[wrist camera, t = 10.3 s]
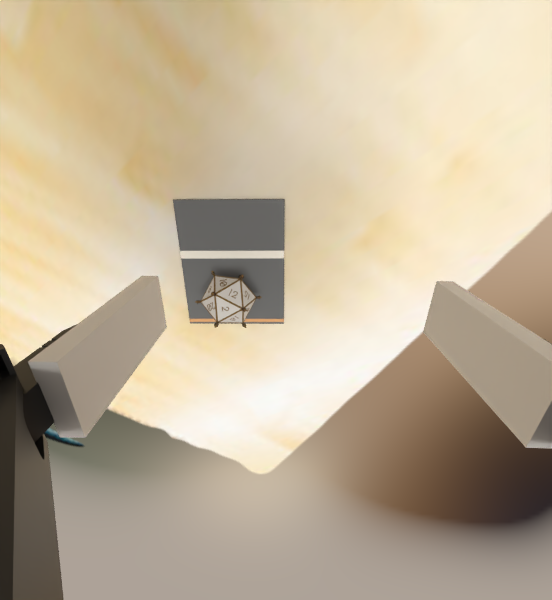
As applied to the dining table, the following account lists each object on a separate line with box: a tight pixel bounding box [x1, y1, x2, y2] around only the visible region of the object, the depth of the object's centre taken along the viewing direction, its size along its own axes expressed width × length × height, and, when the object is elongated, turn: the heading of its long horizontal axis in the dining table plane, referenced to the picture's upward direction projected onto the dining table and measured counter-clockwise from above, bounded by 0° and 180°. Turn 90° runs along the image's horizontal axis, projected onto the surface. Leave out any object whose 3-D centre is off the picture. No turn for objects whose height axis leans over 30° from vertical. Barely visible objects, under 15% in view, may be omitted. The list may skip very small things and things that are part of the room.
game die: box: [195, 270, 262, 328], centre depth 42 cm, size 9×8×10 cm
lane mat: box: [173, 199, 284, 324], centre depth 45 cm, size 20×16×1 cm
